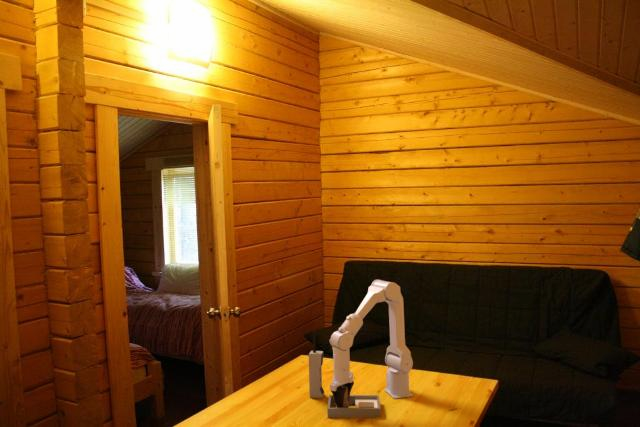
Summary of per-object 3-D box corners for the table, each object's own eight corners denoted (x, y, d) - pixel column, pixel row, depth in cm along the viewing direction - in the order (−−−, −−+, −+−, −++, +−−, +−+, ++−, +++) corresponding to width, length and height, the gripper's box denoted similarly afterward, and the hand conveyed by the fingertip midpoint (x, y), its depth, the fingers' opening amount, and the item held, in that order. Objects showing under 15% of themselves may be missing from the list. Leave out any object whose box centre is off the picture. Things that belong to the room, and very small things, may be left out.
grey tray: (327, 417, 176) (327, 408, 176) (329, 403, 188) (329, 395, 188) (380, 417, 175) (380, 408, 175) (379, 403, 187) (378, 395, 187)
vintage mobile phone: (322, 398, 193) (321, 331, 192) (309, 397, 194) (307, 331, 193) (324, 394, 197) (323, 329, 196) (311, 394, 198) (310, 328, 197)
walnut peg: (335, 408, 183) (335, 386, 183) (346, 407, 184) (345, 384, 184) (338, 413, 180) (338, 390, 179) (349, 411, 181) (349, 388, 180)
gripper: (342, 374, 173) (343, 414, 174) (360, 361, 186) (361, 398, 186) (324, 371, 177) (325, 410, 177) (342, 359, 189) (343, 395, 190)
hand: (342, 404), depth 182 cm, fingers closed on walnut peg, 4 cm apart
